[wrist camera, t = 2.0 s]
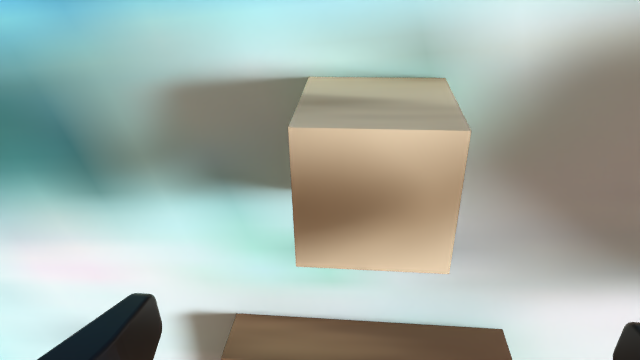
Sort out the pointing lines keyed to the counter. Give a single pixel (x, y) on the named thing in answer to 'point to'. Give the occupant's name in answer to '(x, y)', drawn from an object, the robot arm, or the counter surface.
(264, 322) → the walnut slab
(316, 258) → the maple cube
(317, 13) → the counter surface
